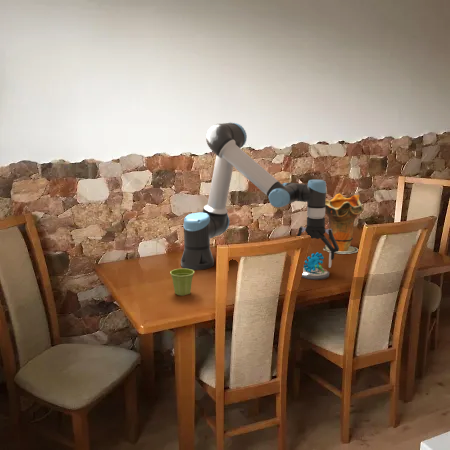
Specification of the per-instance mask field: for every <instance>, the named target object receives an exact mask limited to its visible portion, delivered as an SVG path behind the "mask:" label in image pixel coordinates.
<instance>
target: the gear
mask: <svg viewBox="0 0 450 450" xmlns="http://www.w3.org/2000/svg"><path fill="white" fill-rule="evenodd" d="M306 258H307V259H305V260H304V262H305V263H304V264H303V266H304V267H303V268H305V270H306V271H307V270H308V271H309V272H311V270H313V271H315V270H316V268H317V269H319V270H321V271H322V272H323V273H324V271H323V270H322V268H323V266H322V264H323V263H324V261H323V260H325V259H324V258H325V257H324V255H323V254H322V253H321V252H320V253H319V252H318V251H317V252H316V253H311V256H310V255H309V256H307V257H306ZM306 267H307V268H306Z"/></svg>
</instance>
